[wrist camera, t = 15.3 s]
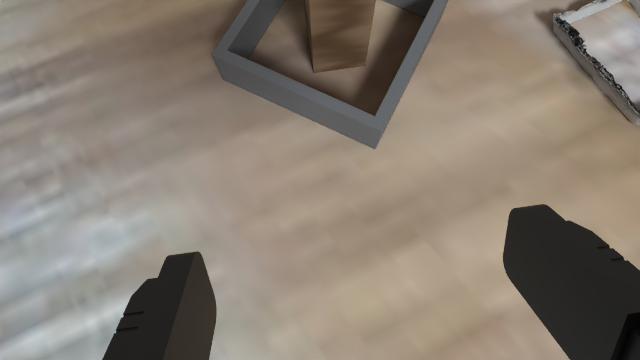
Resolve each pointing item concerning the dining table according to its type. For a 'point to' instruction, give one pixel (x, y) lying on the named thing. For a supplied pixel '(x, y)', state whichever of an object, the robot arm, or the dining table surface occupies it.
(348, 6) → the walnut block
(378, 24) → the dining table surface
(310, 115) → the box
